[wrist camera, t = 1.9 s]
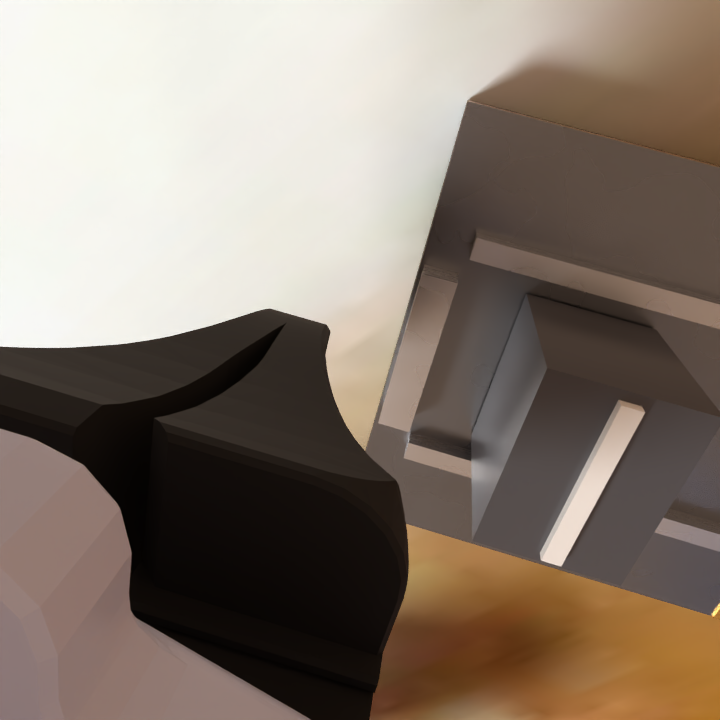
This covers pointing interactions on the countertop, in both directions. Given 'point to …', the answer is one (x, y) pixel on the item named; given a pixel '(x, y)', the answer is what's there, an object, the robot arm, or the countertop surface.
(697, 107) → the countertop surface
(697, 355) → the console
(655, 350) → the fader tab
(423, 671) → the countertop surface
